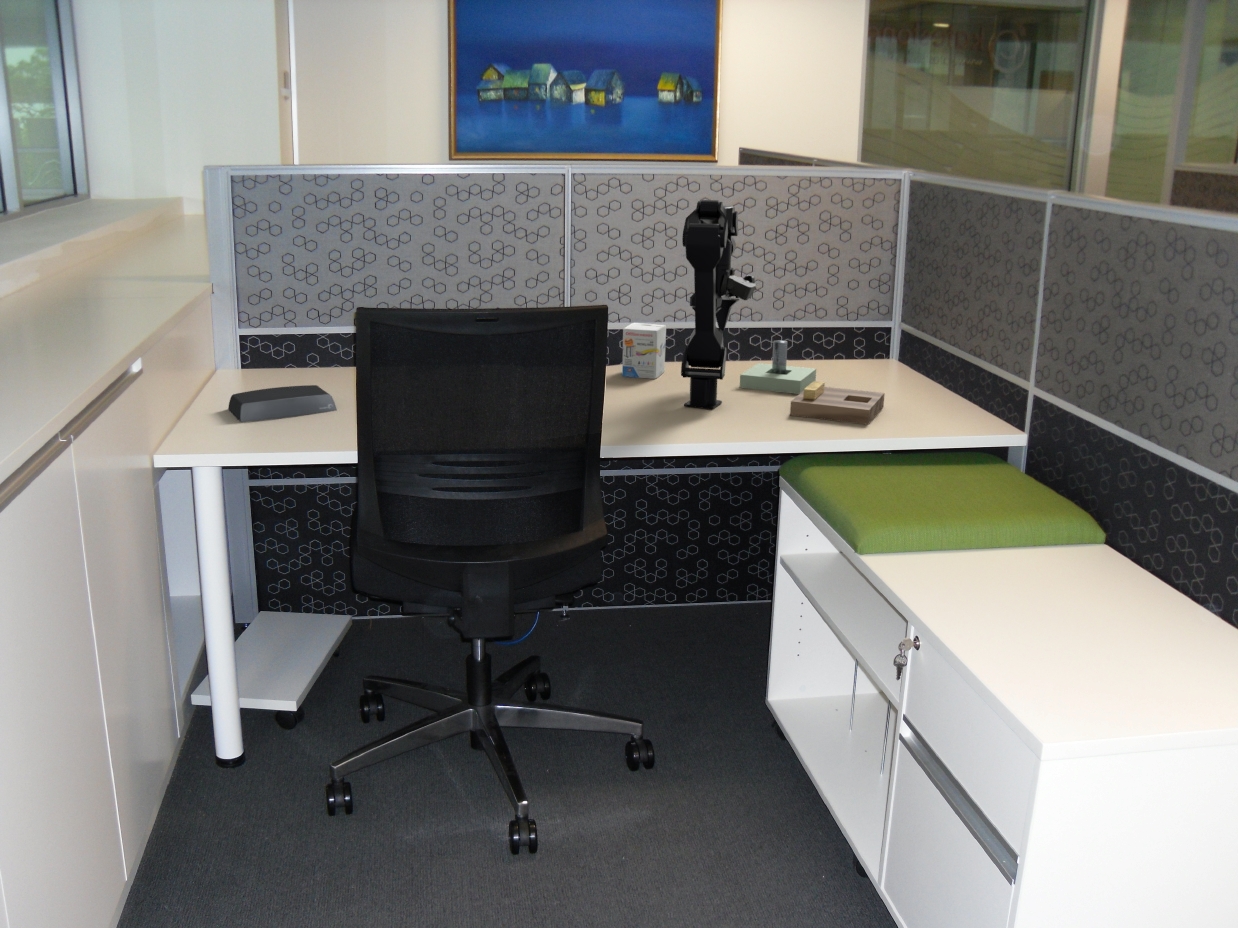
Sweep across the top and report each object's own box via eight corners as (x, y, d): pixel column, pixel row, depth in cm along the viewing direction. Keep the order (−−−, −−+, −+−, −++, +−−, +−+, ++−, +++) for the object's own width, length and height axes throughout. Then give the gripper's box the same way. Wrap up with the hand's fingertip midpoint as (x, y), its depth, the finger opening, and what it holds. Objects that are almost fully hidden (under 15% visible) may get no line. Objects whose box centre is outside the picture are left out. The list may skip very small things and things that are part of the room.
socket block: (868, 424, 212) (869, 410, 211) (790, 415, 218) (790, 401, 217) (883, 406, 226) (884, 392, 225) (809, 398, 232) (810, 385, 231)
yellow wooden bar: (814, 399, 218) (815, 390, 217) (803, 398, 219) (803, 389, 218) (824, 391, 225) (824, 382, 224) (812, 390, 226) (813, 381, 225)
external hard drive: (338, 413, 218) (337, 394, 217) (241, 425, 208) (239, 405, 207) (320, 400, 229) (319, 381, 227) (227, 410, 219) (225, 391, 218)
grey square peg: (783, 386, 242) (785, 343, 239) (769, 385, 244) (771, 342, 241) (786, 383, 245) (789, 340, 242) (773, 382, 246) (775, 339, 243)
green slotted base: (799, 394, 236) (800, 380, 235) (739, 387, 241) (740, 374, 240) (815, 381, 248) (816, 368, 247) (757, 375, 253) (758, 363, 252)
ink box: (621, 376, 251) (621, 327, 247) (631, 369, 258) (631, 321, 255) (656, 379, 248) (657, 330, 245) (665, 372, 256) (666, 323, 253)
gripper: (739, 270, 223) (736, 344, 228) (765, 261, 239) (761, 330, 244) (690, 267, 227) (687, 339, 232) (718, 258, 244) (715, 326, 248)
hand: (715, 333), depth 239 cm, fingers open, 9 cm apart
